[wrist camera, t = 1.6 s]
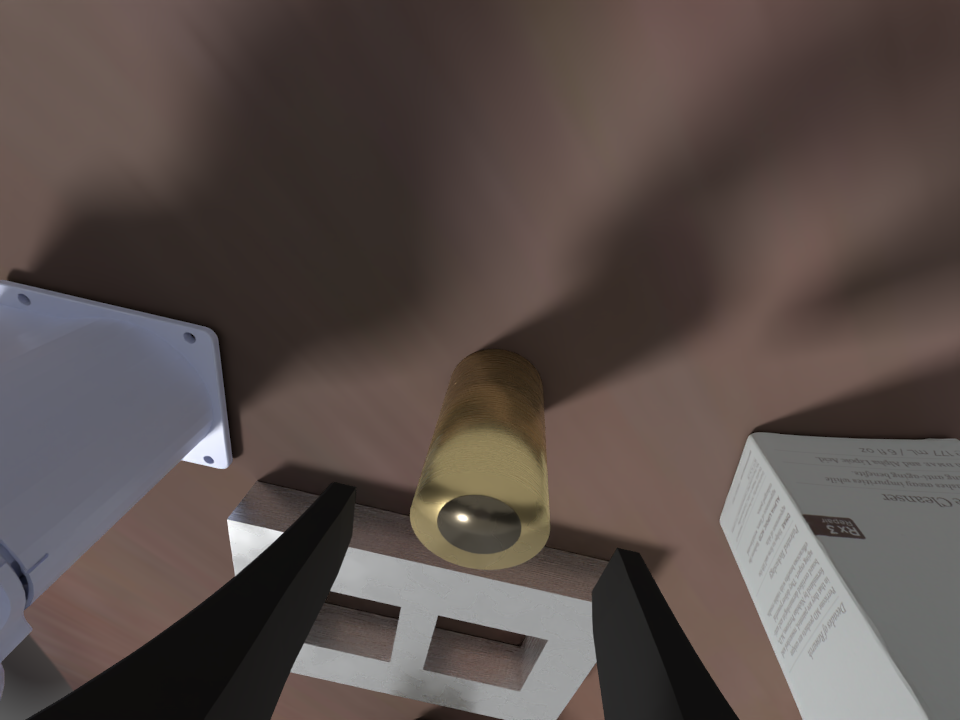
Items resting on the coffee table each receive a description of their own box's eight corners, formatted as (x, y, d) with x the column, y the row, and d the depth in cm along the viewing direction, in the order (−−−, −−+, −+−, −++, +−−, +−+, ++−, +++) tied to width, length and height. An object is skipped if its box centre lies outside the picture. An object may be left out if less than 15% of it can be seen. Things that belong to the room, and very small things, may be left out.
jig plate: (268, 622, 29) (247, 662, 27) (256, 481, 22) (227, 519, 20) (547, 685, 30) (549, 729, 27) (621, 564, 23) (631, 611, 20)
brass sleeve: (443, 416, 19) (402, 554, 13) (458, 339, 17) (419, 459, 11) (528, 436, 19) (529, 583, 13) (554, 361, 17) (568, 493, 11)
